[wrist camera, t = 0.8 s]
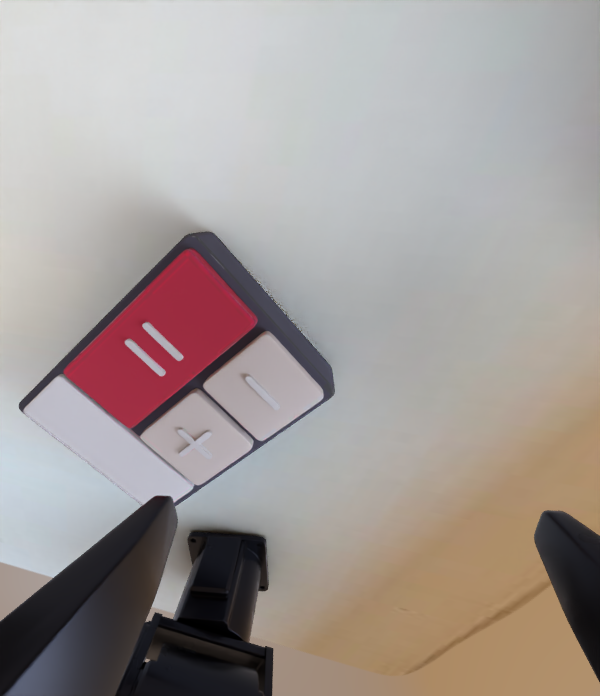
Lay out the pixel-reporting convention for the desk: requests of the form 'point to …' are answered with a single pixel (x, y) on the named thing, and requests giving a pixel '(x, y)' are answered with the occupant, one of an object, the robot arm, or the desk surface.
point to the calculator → (182, 377)
